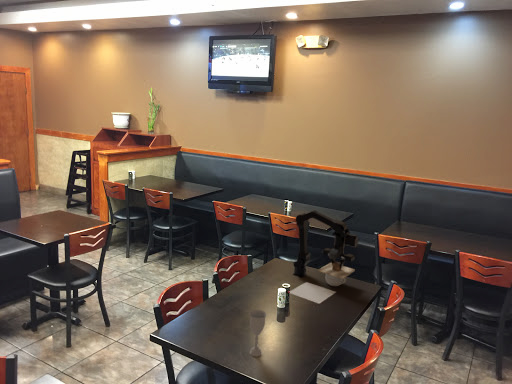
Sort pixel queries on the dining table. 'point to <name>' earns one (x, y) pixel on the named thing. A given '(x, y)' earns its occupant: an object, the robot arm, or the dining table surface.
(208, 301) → the dining table surface
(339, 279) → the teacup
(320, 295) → the mat
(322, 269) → the lid
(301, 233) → the robot arm
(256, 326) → the chalice
